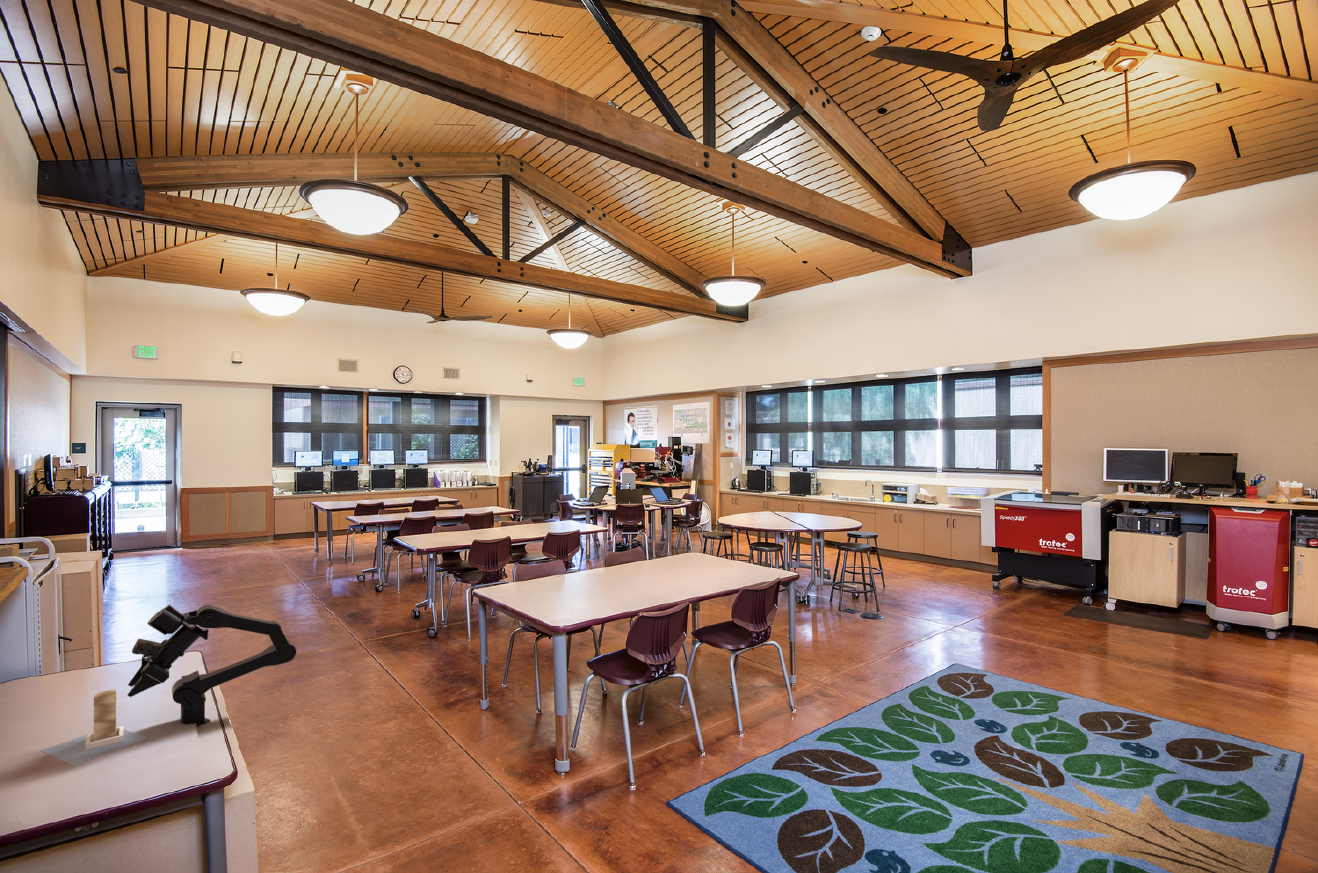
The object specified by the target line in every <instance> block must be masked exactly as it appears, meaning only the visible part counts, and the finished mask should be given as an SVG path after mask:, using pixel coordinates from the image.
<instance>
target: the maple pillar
mask: <svg viewBox="0 0 1318 873" xmlns="http://www.w3.org/2000/svg"><path fill="white" fill-rule="evenodd" d="M93 696H94V697H93V732H94V741H98V740H102V739H106V738H111V737H115V736H116V726H117V689H116V688H115V689H109V690H103V691H99V692H94V694H93Z"/></svg>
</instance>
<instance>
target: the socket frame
mask: <svg viewBox="0 0 1318 873" xmlns="http://www.w3.org/2000/svg"><path fill="white" fill-rule="evenodd" d="M124 728H125V727H124V725H121V726H117V727H116V734H117V733H119V736H115V737H111V738H106V739H102V740H98V741H94V742H91V740H92V739H94V733H93V732H91V733H87V734H86V735H87V739H86V744H85V750H88V749H92V748H96V747H100V746H104V745H109V744H113V743H117V742H121V741H123V732H124V730H125V729H124Z"/></svg>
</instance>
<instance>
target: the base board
mask: <svg viewBox="0 0 1318 873" xmlns="http://www.w3.org/2000/svg"><path fill="white" fill-rule="evenodd" d="M116 727H118V726H117V725H116ZM92 733H94V731H93V732H92ZM116 736H119V733H117V734H116ZM86 739H87V734H85V735H81V736H79V737H76V738H72V739H70V740H67V741H65V742H62V743H59V744H56V745H53V746H50V747H47V748H44V749H41V750H40V751H41V752H42V753H45V754H47V755H49V756H51V757H54V758H56V759H58V760H60V761H62V762H65V763H66V764H69V765H71V766H73V767H74V766H77V765H80V764H84V763H86V762H88V761H91V760H94V759H96V758H99V757H101V756H104V755H106V754H110V753H112V752H114V751H116V750H120V749H122V748H125V747H128V746H130V745H133V744H135V743H138V742H142V741H145V740H146V739H148V737H145V736H143V735H140V734H137V733H135V732H132V731H129V730H127V729H124V732H123V741H121V742H117V743H113V744H109V745H104V746H100V747H96V748H92V749H88V750H85V744H86ZM91 742H94V739H92V740H91Z"/></svg>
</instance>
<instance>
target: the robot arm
mask: <svg viewBox="0 0 1318 873" xmlns="http://www.w3.org/2000/svg"><path fill="white" fill-rule="evenodd" d="M146 624H147V625H148V626H149V627H152V628H153V629H155V630H156V631H157V632H159V633H161V634H162V635H164V636H166V635H171V636H170V637H169V638H168V639H167V638H166V639H164V640H162V641H161V642H157V641H155V640H154V641H153V640H148V639H143V638H138V639H137V640H136V642H135V644H134V646H133V648H131V651H132V652H131V653H132V654H134V655H142V656H141V666H140V667H139V669H138V670H136V672H135V674H134V675H133V677H132V679H130V681H129V682H128V683H127V685H128V686H129V688H130V687H131V689H130V690H129V692H128V693H127V697H129V698H132V697H135V696H136V695H139V694H140V693H142V692H144V691H147V690H148V689H151V688H153V687H155V686H158V685H161V684H164V683H165V682H166V681H167V680H168V679H169V678H170V669H171V668H173V667H172V666H173V663H175V661H177V660H178V659H179V658H180V657H183V656H184V655H185V652H186V651H187V650H188V649H189V648H190V647H191V646H193V644H194V643H195V642H196V641H198V640H199V638H201V639H203V640H205V641H207V640H209V632H210V631H209V629H223V628H224V629H225V628H228V629H234V630H240V631H244V632H245V631H246V632H249V633H256V634H260V635H261V634H262V635H267V636H269V639H270V640H271V643H272V645H270V646H268V647H267V648H265V649H264V650H263V651H261V652H260V653H258V654H255V655H252V656H250V657H247V658H244V659H242V660H240V661H237V662H234V663H232V664H230V665H227V666H223V667H222V668H219V669H217V670H213V671H212V672H208V673H203V674H200V673H199V670H196V671H193V672H192V673H189V674H187V675H181V678H179V679H178V680H176V681H175V682H174V683H173V685H172V688H171V694H172V700H173V701H174V702H175V704H180V724H183V725H190V724H191V725H194V724H195V727H196V728H197V727H200V726H203V725H205V724H208V723H210V722H211V719H210V718H207V717H206V714H205V713H206V711H205V710H206V707H205V706H206V700H207V698H206V694H205V693H207V692H209V690H211V689H213V688H215V687H217V686H220V685H222V684H224V683H227V682H229V681H232V680H235V679H238V678H239V677H242V676H245V675H247V674H250V673H253V672H254V671H257V670H259V669H262V668H265V667H272V666H273V667H274V666H278V665H283V664H287V663H289V662H291V661H293V660H294V658H296V655H297V648H296V646H295V645H294V643H293V642H292V641H291V640H290V639H289V640H288V639H287V637H286V635H285V634H284V631H283V630H282V627H281V625H280V623H279V622H278V621H275V620H273V621H272V620H266V619H261V618H256V617H250V616H245V615H241V614H236V613H232V612H230V611H227V610H225V609H223V608H220V607H219V606H216V605H212V604H204V605H202V606H200V607H199V608H198V609H197V610H191V611H188V612H184V613H181V612H180V611H179V610H177V609H175V608H174V606H172V604H167V605H166V606H165V607H164V608H162V609H161V610H159V611H157V612H156V613H155V614H154V615H153V616H152V617H151V618H150V619H149V620H148V622H147V623H146Z"/></svg>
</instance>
